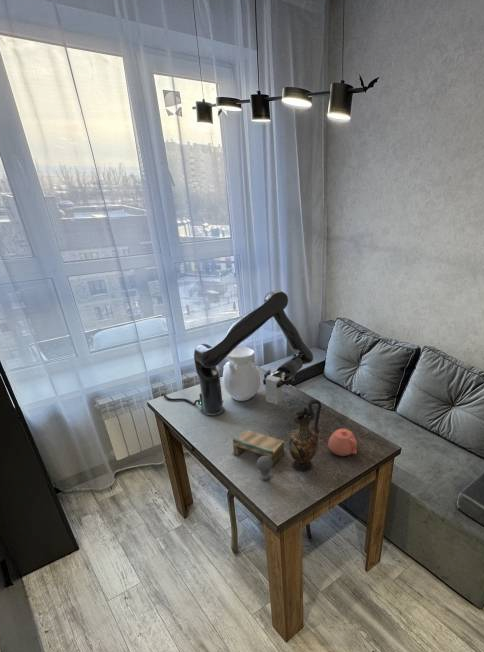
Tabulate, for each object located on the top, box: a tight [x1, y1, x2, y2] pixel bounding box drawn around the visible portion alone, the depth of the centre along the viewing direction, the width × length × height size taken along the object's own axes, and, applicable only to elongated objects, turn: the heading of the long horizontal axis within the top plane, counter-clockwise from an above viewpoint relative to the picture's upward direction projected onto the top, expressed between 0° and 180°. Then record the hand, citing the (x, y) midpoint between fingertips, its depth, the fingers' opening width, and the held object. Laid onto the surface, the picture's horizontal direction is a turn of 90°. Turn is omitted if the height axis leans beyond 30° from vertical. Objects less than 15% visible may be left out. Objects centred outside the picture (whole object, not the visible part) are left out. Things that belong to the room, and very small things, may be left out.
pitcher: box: [222, 346, 261, 402], centre depth 198 cm, size 19×18×25 cm
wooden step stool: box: [232, 429, 285, 466], centre depth 163 cm, size 18×10×8 cm, turn 67°
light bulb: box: [256, 455, 274, 480], centre depth 149 cm, size 6×6×10 cm
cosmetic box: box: [265, 375, 283, 405], centre depth 181 cm, size 6×4×12 cm
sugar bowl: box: [327, 428, 358, 457], centre depth 166 cm, size 12×14×10 cm
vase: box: [287, 399, 322, 472], centre depth 151 cm, size 12×12×30 cm
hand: (270, 384), depth 177 cm, fingers closed on cosmetic box, 6 cm apart
